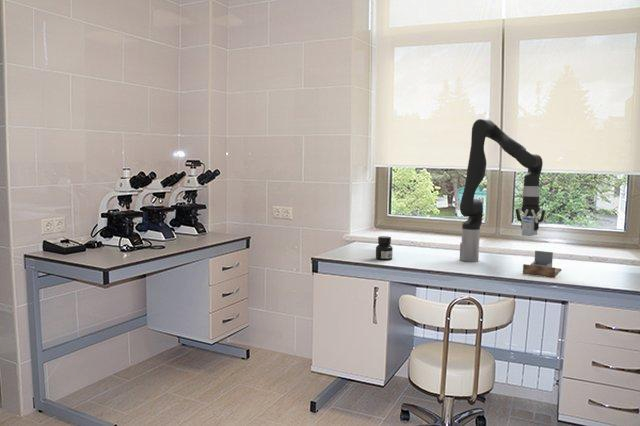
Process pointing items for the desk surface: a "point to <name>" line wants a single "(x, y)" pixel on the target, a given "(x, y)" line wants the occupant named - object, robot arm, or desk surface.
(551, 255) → the grey open lidded box
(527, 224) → the medicine box
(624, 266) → the desk surface
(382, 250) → the ink bottle
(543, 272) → the backstop
